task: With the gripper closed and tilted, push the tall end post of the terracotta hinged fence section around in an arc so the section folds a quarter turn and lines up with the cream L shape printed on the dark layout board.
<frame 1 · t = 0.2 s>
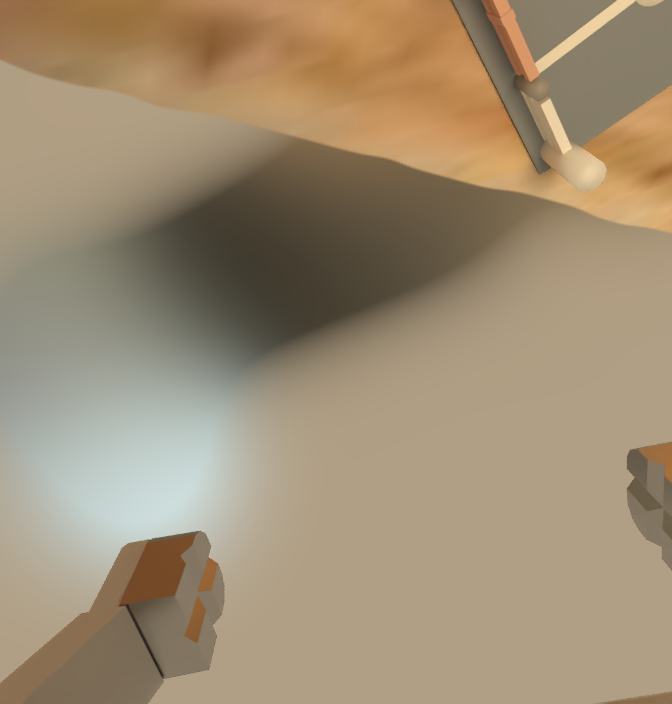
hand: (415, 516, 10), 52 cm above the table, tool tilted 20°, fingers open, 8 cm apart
fixed fence section: (522, 79, 53), resting on layout board
layout board: (520, 78, 53), on the table
hinged fence section: (506, 8, 44), point 6 cm above the table, hinge at 0.0°
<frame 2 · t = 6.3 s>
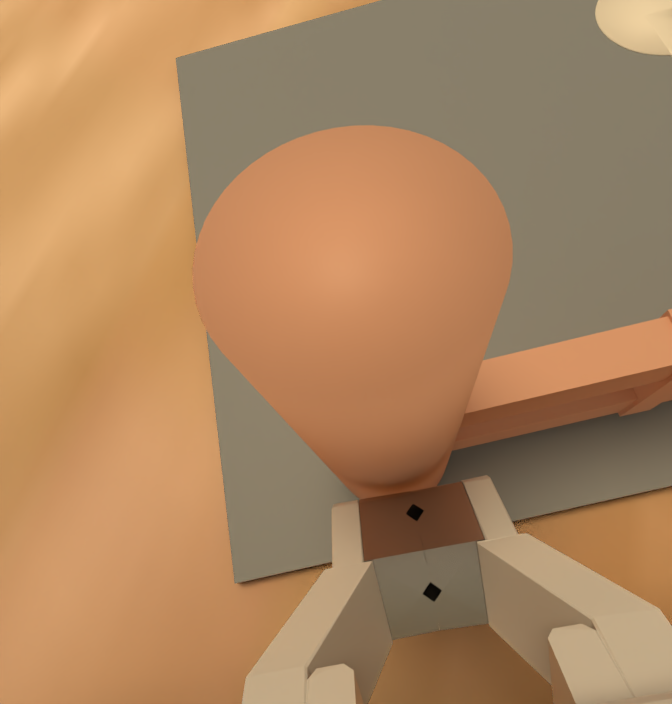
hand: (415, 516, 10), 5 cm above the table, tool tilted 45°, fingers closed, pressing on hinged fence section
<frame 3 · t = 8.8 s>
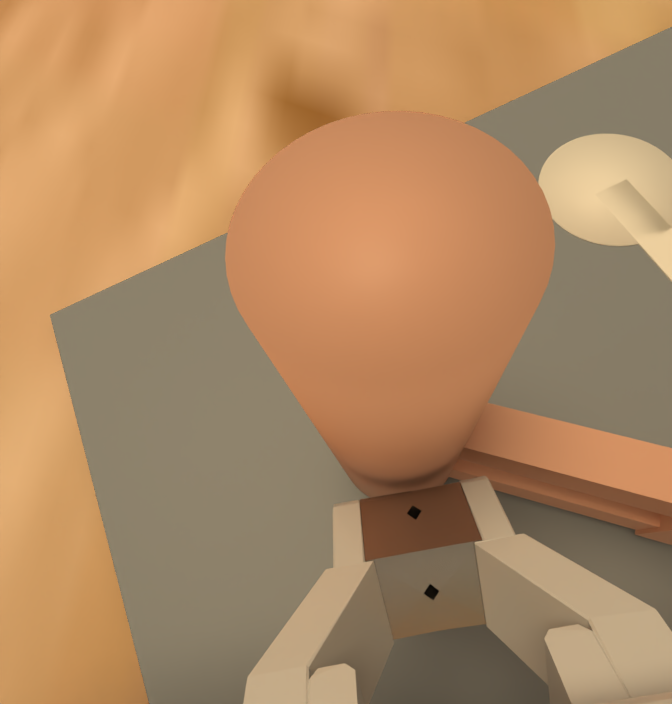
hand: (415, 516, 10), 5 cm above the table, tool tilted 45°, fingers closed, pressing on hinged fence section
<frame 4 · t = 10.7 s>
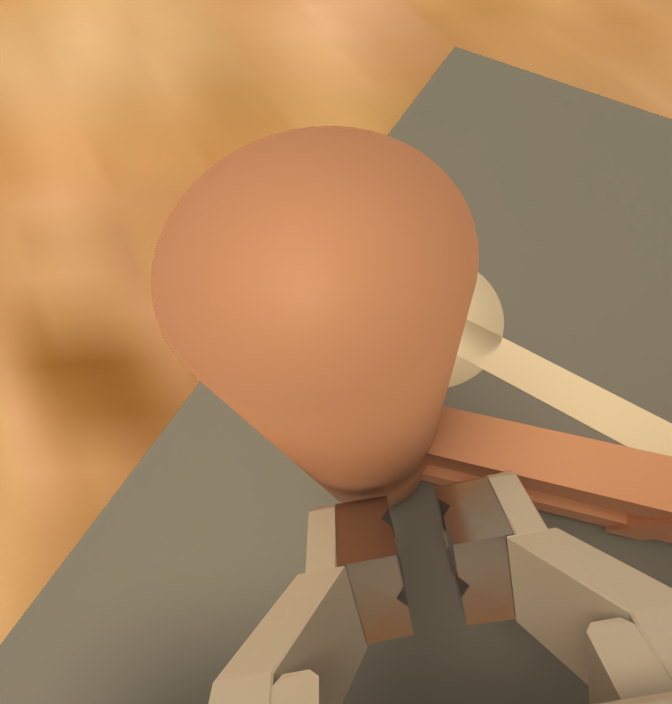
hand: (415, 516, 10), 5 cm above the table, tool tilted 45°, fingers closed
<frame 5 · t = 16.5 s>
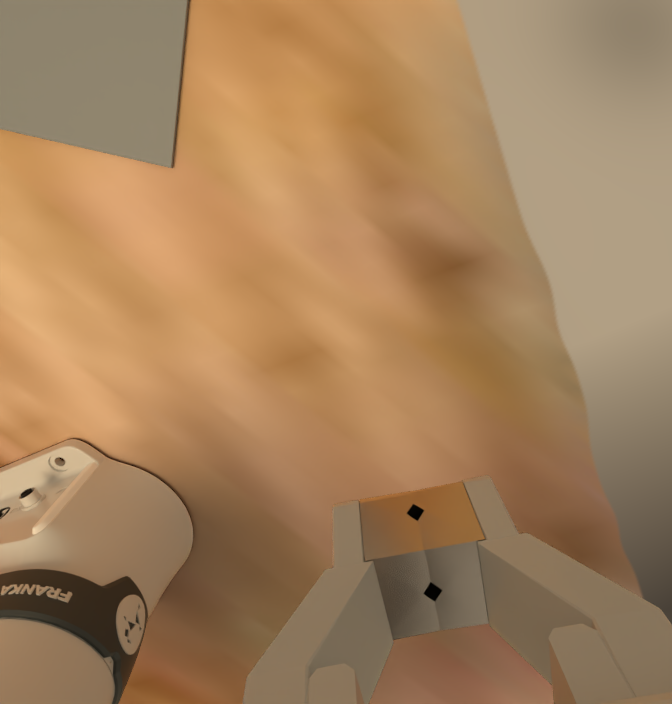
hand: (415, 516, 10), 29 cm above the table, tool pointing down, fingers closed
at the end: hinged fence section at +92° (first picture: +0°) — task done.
